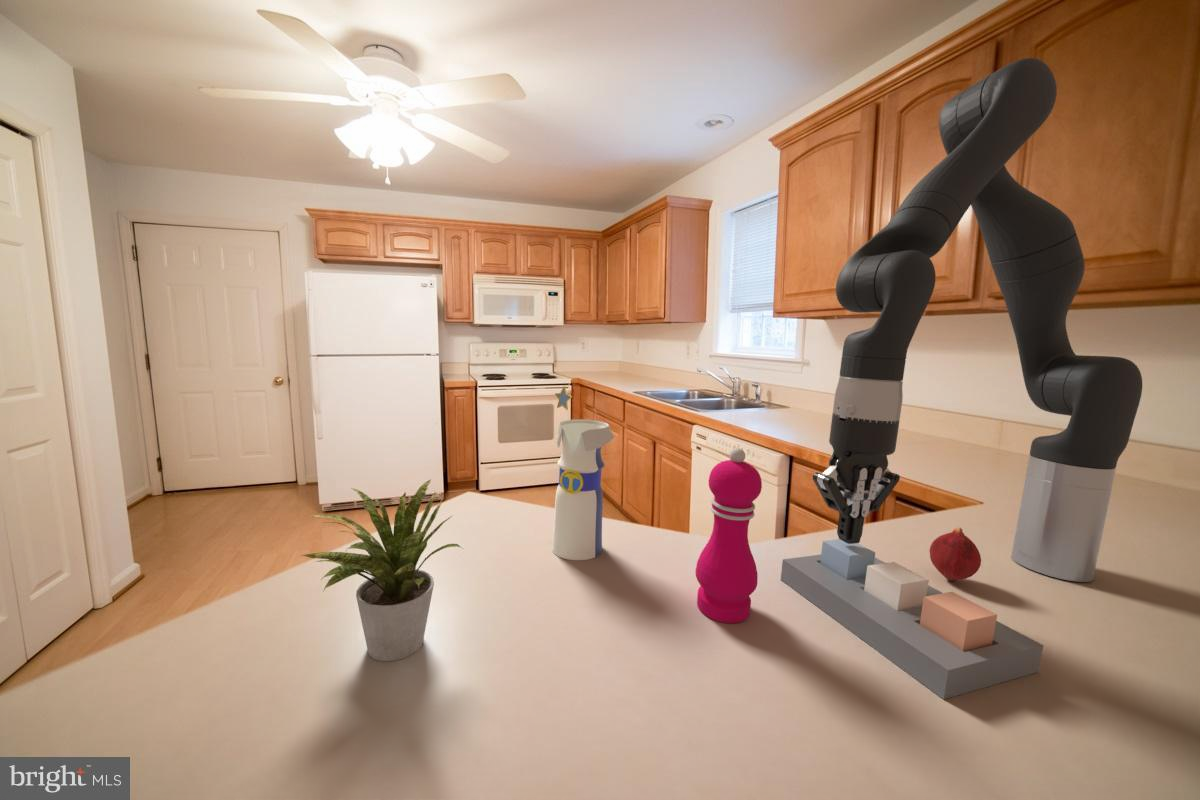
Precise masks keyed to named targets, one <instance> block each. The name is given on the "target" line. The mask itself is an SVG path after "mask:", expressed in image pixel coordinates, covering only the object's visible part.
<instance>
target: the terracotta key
mask: <svg viewBox="0 0 1200 800" xmlns="http://www.w3.org/2000/svg"><path fill="white" fill-rule="evenodd" d="M997 617H998V614H997V613H995V612H993V611H991V610H989V609H987V608H986V607H983V606H981V605H979V604H978V603H975V602H974V601H972V600H970V599H968V598H965V597H963V595H960V594H957V593H956V592H955V591H948V592H942V594H936V595H931V596H925V597H924V599H923V606H922V612H921V619H920V625H921V626H923V627H924V628H926V629H928V630H929V631H931V632H933V633H934V634H936V635H938V636H939V637H941V638H942V639H944V640H946V641H947V642H949V643H951V644H952V645H954V646H955V647H957V648H959V649H960V650H962V651H964V652H967V651H971V650H975V649H979V648H984V647H988V646H992V642H993V636H994V630H995V625H996V621H997Z"/></svg>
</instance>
